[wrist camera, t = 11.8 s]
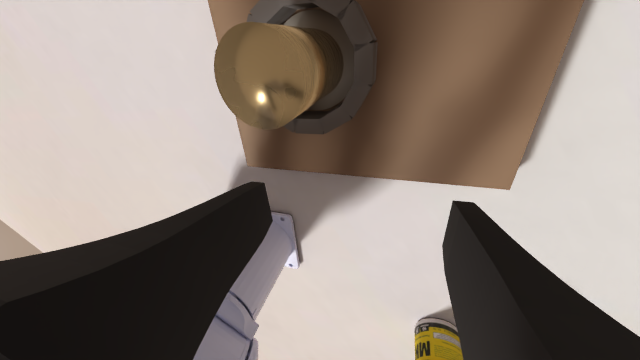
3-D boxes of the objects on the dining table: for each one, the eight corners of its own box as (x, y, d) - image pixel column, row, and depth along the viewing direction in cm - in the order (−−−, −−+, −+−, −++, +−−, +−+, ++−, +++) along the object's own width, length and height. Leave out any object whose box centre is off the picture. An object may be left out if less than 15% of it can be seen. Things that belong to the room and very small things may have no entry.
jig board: (256, 159, 23) (234, 176, 20) (214, -33, 16) (171, -49, 13) (502, 178, 17) (521, 207, 14) (607, -113, 10) (690, -174, 7)
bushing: (290, 98, 17) (230, 129, 11) (279, 32, 15) (200, 29, 9) (345, 96, 16) (309, 129, 10) (341, 24, 14) (295, 13, 8)
